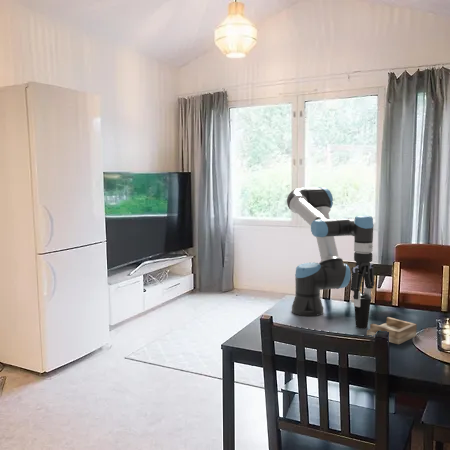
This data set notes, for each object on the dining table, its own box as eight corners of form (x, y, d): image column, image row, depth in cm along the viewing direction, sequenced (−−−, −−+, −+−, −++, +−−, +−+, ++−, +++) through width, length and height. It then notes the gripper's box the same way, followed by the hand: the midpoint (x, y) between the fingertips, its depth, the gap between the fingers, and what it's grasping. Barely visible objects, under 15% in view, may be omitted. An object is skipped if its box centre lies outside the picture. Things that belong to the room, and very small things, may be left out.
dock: (366, 335, 187) (367, 323, 186) (385, 327, 196) (385, 316, 195) (398, 344, 176) (398, 332, 175) (416, 336, 185) (416, 324, 184)
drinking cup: (371, 330, 192) (373, 284, 190) (353, 329, 193) (354, 283, 191) (369, 324, 199) (370, 280, 197) (351, 323, 201) (352, 279, 199)
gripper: (357, 256, 184) (356, 311, 186) (383, 250, 196) (382, 302, 199) (341, 253, 189) (341, 307, 192) (368, 248, 202) (367, 298, 204)
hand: (362, 304), depth 195 cm, fingers closed on drinking cup, 7 cm apart
